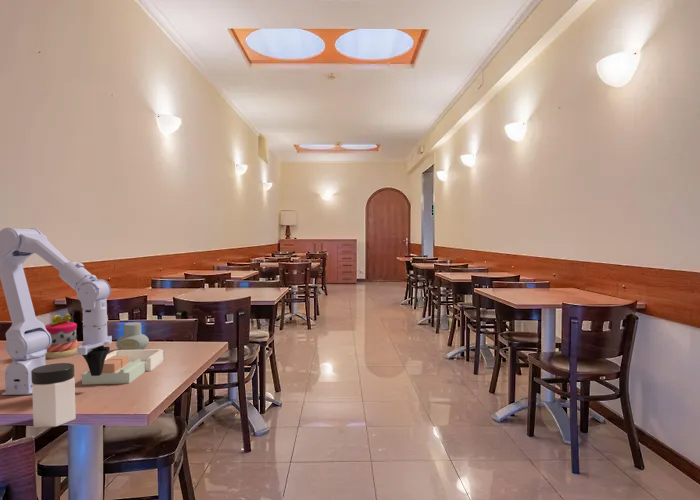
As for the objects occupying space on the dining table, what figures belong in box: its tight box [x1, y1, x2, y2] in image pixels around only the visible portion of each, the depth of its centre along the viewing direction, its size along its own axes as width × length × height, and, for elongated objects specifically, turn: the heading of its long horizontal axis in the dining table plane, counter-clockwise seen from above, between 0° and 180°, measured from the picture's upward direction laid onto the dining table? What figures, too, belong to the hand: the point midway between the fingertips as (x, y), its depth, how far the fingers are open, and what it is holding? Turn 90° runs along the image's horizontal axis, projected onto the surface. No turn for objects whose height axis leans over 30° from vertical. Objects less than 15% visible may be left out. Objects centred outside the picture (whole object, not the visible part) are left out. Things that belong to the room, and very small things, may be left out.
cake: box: [45, 313, 79, 360], centre depth 164 cm, size 10×11×15 cm
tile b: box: [107, 355, 129, 368], centre depth 138 cm, size 4×4×2 cm
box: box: [105, 348, 165, 372], centre depth 148 cm, size 12×16×4 cm
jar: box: [31, 362, 76, 429], centre depth 104 cm, size 9×8×12 cm
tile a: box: [102, 360, 122, 373], centre depth 133 cm, size 4×4×2 cm
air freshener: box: [115, 321, 150, 350], centre depth 170 cm, size 11×8×10 cm
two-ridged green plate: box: [81, 359, 147, 386], centre depth 136 cm, size 12×13×4 cm
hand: (96, 375), depth 125 cm, fingers closed
